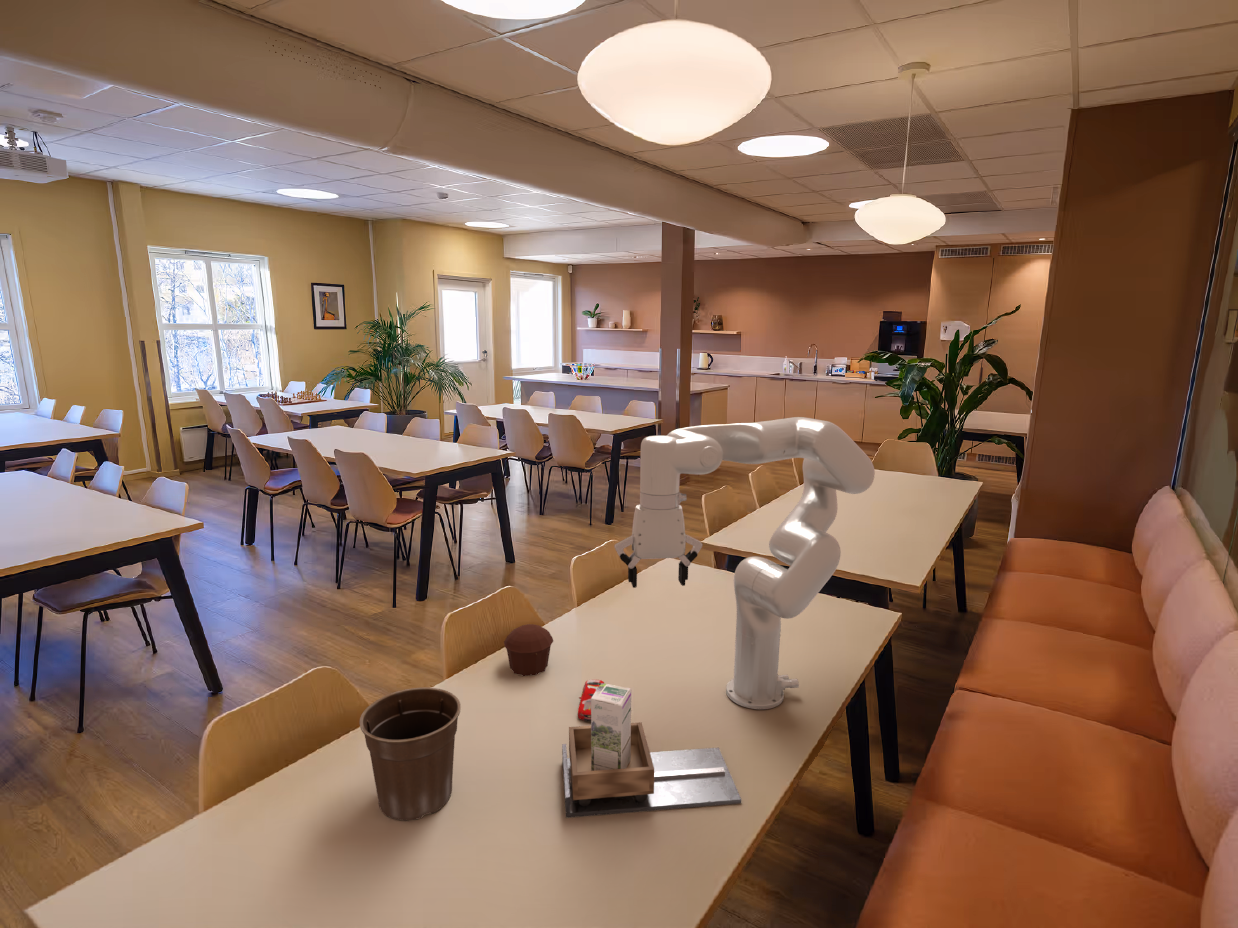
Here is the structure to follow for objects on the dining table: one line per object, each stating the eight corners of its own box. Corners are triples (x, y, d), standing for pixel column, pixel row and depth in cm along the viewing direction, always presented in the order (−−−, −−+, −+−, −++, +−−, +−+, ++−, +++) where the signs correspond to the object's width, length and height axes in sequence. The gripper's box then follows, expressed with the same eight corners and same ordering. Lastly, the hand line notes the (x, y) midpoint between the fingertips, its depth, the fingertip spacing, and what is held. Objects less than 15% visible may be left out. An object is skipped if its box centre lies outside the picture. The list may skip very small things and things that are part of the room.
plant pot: (387, 764, 122) (382, 684, 119) (474, 766, 121) (471, 686, 118) (349, 829, 106) (342, 739, 103) (449, 832, 106) (444, 742, 102)
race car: (601, 725, 135) (601, 707, 134) (575, 723, 136) (575, 706, 135) (608, 691, 148) (608, 674, 147) (584, 689, 148) (584, 673, 148)
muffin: (513, 683, 150) (512, 642, 148) (498, 661, 160) (497, 623, 158) (561, 671, 156) (560, 632, 154) (543, 651, 165) (543, 614, 163)
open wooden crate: (641, 753, 124) (641, 722, 123) (653, 804, 111) (654, 769, 110) (569, 758, 122) (568, 726, 121) (573, 810, 109) (572, 775, 108)
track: (718, 751, 127) (719, 733, 126) (741, 803, 113) (742, 783, 112) (562, 762, 123) (562, 743, 122) (565, 817, 109) (565, 797, 108)
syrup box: (631, 759, 118) (632, 686, 115) (620, 780, 113) (621, 703, 110) (601, 753, 120) (602, 680, 117) (589, 773, 115) (589, 697, 112)
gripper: (698, 494, 131) (696, 575, 134) (612, 496, 129) (612, 579, 132) (708, 504, 124) (705, 589, 127) (617, 506, 122) (616, 593, 125)
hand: (657, 584), depth 130 cm, fingers open, 9 cm apart
